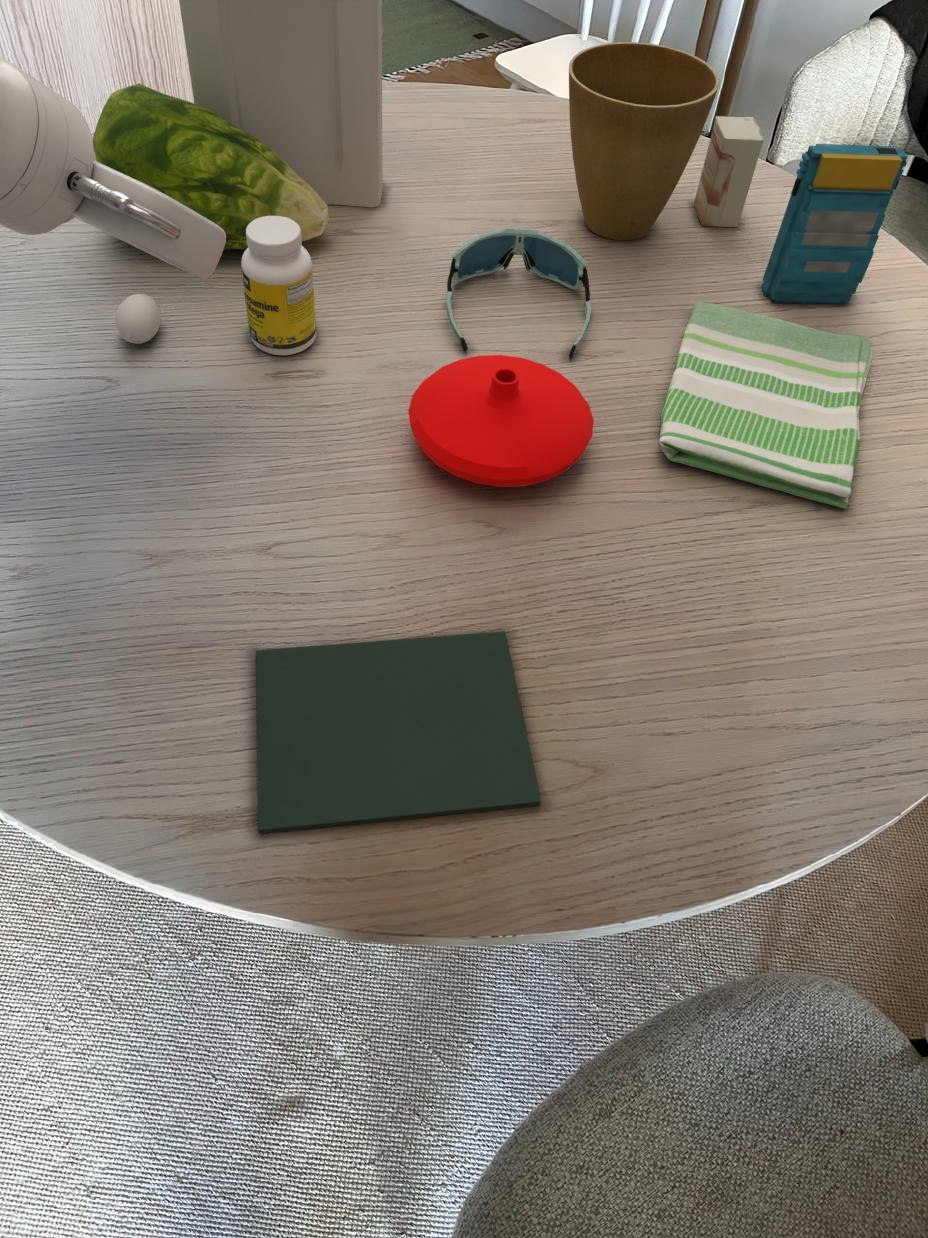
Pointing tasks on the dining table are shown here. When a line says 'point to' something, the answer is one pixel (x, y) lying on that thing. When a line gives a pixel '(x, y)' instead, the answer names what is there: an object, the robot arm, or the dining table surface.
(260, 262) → the pill bottle
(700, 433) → the dish towel
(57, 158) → the robot arm
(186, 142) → the lettuce
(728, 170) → the small cream box
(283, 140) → the tall white carton
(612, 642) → the dining table surface
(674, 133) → the plant pot
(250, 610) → the dining table surface
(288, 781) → the mat
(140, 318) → the egg
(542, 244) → the sunglasses
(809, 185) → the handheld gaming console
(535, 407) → the flat cone with hole
